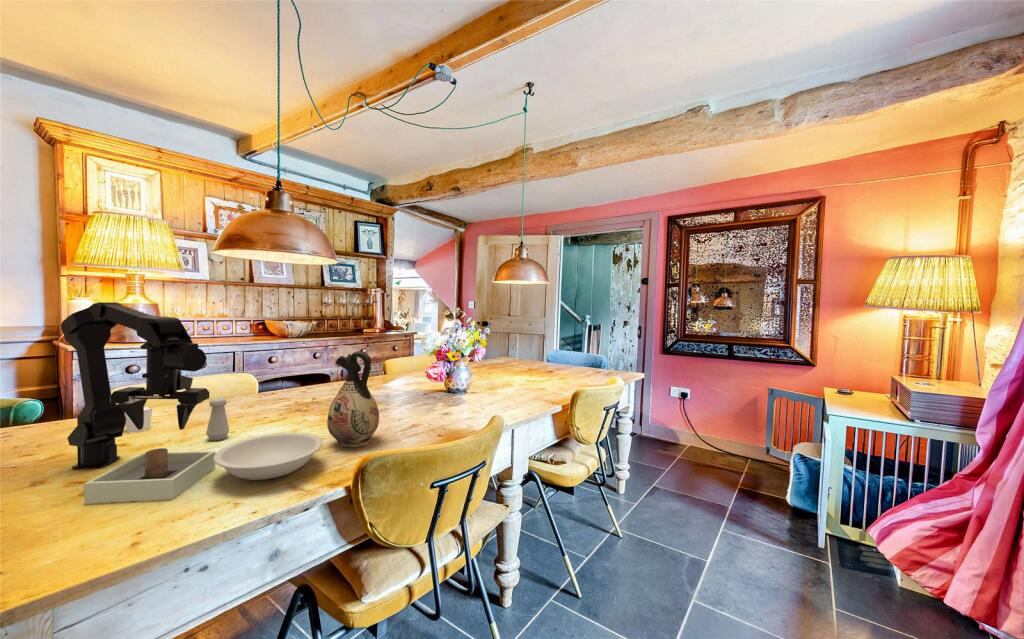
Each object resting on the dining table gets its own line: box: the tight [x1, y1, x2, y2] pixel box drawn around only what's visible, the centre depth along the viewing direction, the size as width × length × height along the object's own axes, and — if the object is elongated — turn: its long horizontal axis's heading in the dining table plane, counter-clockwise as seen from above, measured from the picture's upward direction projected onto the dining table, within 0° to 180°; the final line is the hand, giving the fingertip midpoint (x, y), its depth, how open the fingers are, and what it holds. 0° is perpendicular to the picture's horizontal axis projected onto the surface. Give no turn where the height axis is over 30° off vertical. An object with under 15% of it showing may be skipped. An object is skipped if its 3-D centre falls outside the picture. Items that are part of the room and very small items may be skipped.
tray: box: [83, 450, 216, 505], centre depth 92 cm, size 17×17×4 cm
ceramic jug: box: [326, 350, 380, 448], centre depth 122 cm, size 17×15×30 cm
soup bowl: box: [213, 432, 323, 481], centre depth 101 cm, size 24×24×7 cm
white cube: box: [124, 406, 153, 433], centre depth 128 cm, size 7×7×7 cm
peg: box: [145, 447, 169, 479], centre depth 92 cm, size 4×4×8 cm
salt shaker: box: [205, 397, 230, 442], centre depth 122 cm, size 6×6×13 cm
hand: (161, 429), depth 97 cm, fingers open, 9 cm apart
